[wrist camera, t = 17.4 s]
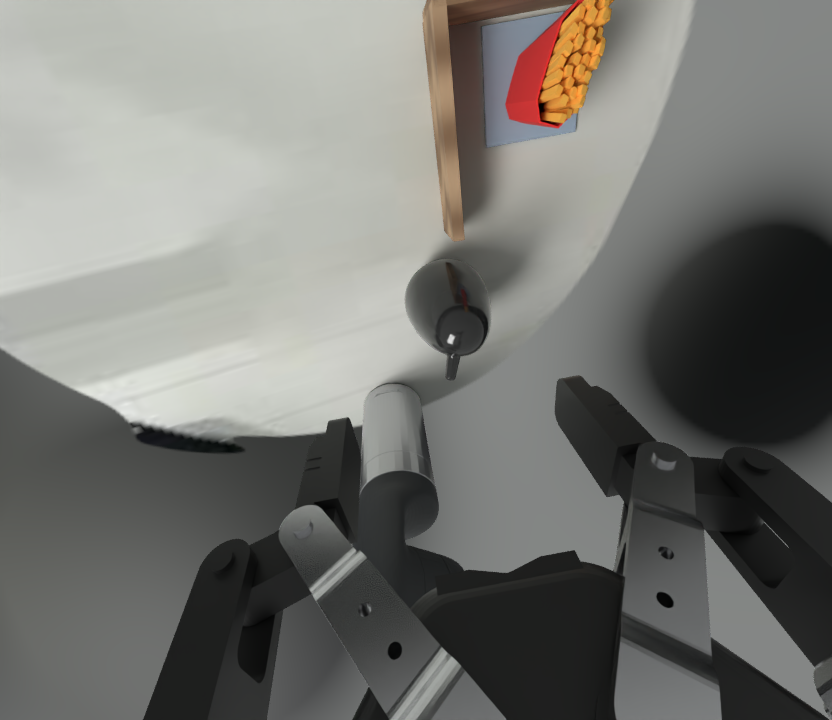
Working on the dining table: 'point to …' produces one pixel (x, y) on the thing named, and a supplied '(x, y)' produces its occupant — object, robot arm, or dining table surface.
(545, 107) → the french fries
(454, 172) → the wooden corner bracket
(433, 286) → the pump dispenser
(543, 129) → the mat
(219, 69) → the dining table surface
